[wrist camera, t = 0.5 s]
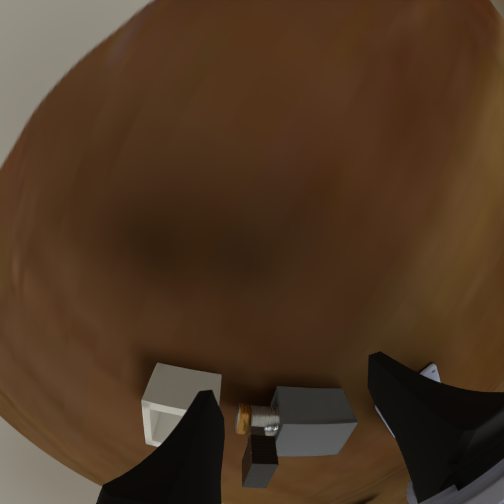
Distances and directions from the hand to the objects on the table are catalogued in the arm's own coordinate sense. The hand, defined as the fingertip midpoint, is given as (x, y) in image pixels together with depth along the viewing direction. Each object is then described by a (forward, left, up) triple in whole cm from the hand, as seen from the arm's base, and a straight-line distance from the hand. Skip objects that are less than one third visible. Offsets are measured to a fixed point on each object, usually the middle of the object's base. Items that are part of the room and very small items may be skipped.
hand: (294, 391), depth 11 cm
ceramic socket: (-3, +11, -10) cm, 15 cm away
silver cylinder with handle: (-10, +5, -9) cm, 14 cm away
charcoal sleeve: (-11, +4, -10) cm, 15 cm away
